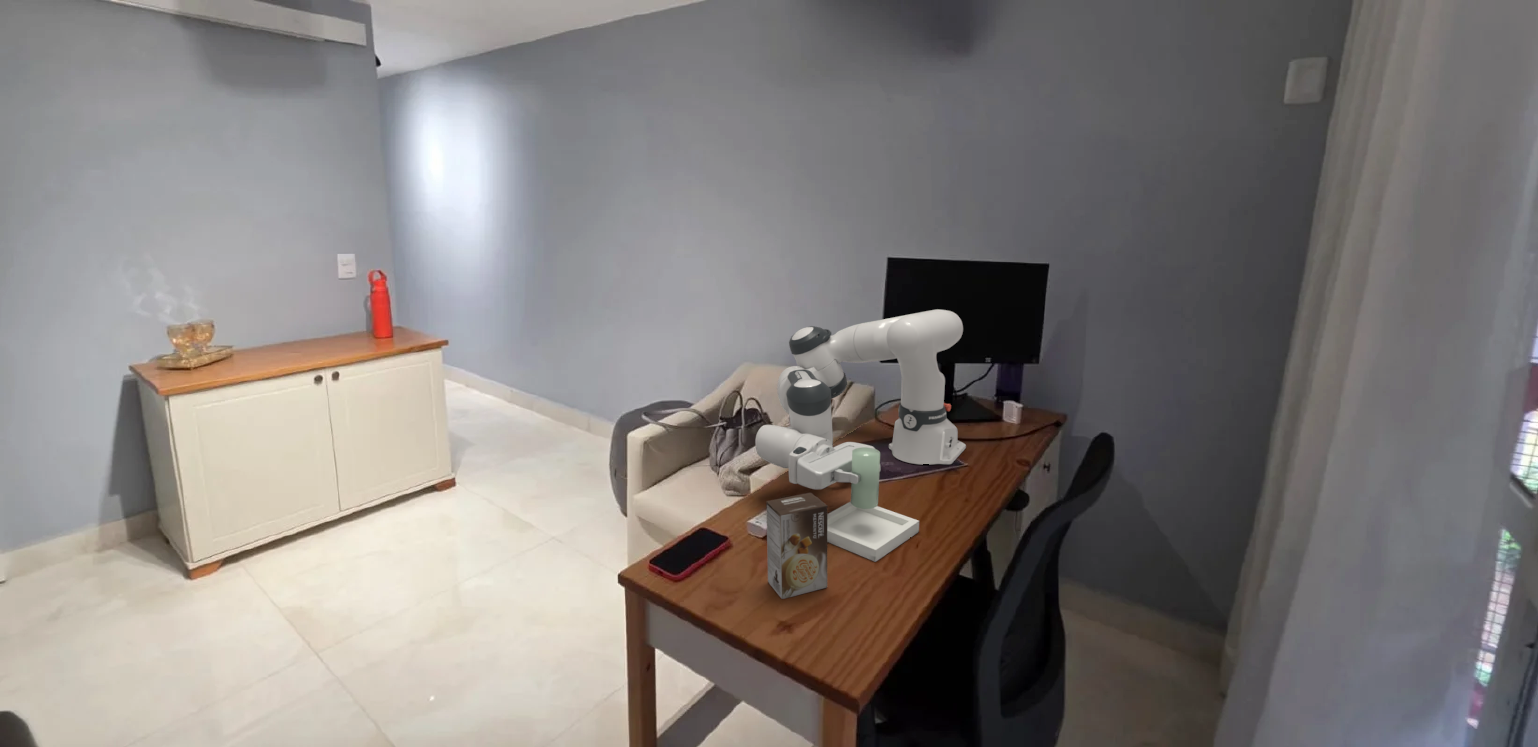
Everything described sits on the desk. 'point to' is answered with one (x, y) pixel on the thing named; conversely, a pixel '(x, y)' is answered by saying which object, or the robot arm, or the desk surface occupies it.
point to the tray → (869, 530)
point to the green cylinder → (865, 477)
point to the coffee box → (797, 544)
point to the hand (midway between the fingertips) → (869, 474)
